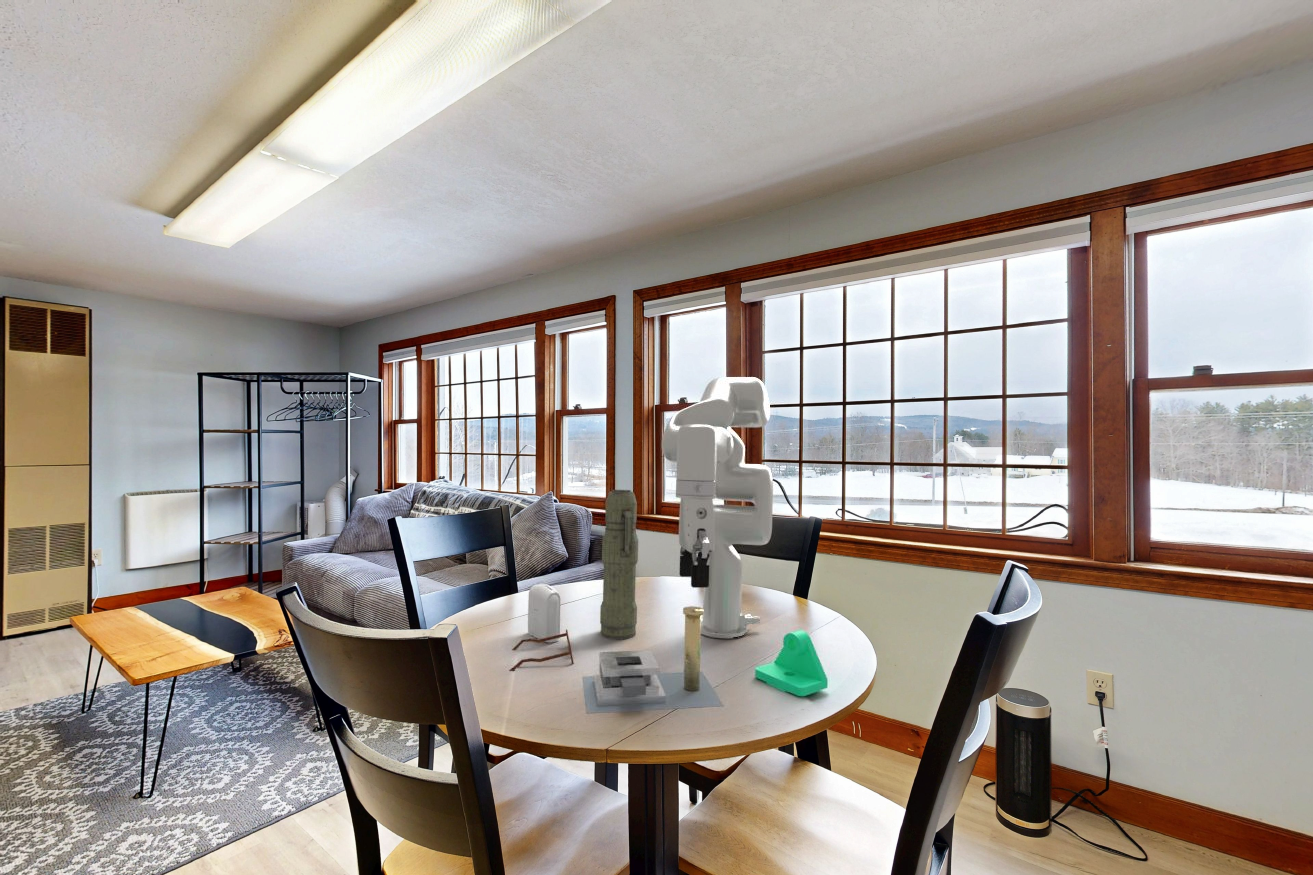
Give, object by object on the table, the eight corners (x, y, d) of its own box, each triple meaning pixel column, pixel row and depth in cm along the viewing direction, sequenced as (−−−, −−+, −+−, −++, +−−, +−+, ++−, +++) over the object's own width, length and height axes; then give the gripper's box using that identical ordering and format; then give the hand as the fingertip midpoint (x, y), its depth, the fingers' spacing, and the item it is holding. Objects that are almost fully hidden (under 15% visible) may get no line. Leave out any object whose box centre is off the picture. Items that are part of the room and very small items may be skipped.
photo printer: (525, 633, 142) (526, 581, 143) (540, 630, 145) (542, 579, 145) (545, 644, 134) (547, 590, 135) (562, 641, 137) (563, 587, 137)
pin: (699, 683, 112) (700, 606, 113) (703, 691, 109) (705, 611, 109) (679, 684, 112) (681, 606, 112) (683, 692, 108) (685, 612, 108)
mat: (701, 674, 119) (701, 671, 119) (724, 709, 103) (724, 705, 103) (582, 679, 115) (582, 676, 115) (586, 716, 99) (586, 713, 99)
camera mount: (752, 681, 116) (753, 629, 116) (778, 673, 121) (779, 623, 121) (801, 703, 107) (802, 646, 107) (827, 693, 111) (828, 638, 111)
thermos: (623, 624, 151) (626, 488, 152) (645, 637, 141) (648, 491, 142) (591, 628, 147) (595, 488, 148) (612, 643, 137) (615, 492, 137)
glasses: (574, 669, 121) (575, 645, 121) (509, 673, 118) (509, 648, 118) (570, 648, 134) (570, 626, 134) (511, 651, 131) (511, 628, 131)
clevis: (655, 678, 115) (655, 649, 115) (668, 708, 101) (669, 675, 101) (593, 681, 112) (594, 651, 113) (598, 712, 99) (599, 679, 99)
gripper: (728, 493, 103) (726, 591, 102) (703, 488, 120) (701, 572, 119) (686, 492, 102) (683, 592, 101) (667, 487, 119) (665, 572, 118)
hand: (693, 581), depth 110 cm, fingers open, 9 cm apart
